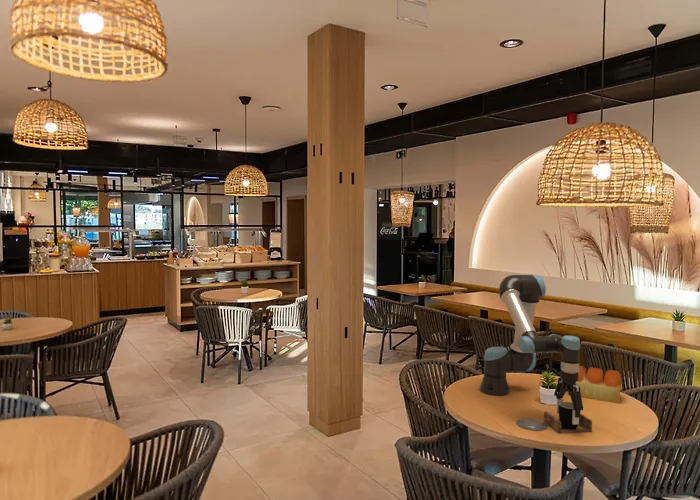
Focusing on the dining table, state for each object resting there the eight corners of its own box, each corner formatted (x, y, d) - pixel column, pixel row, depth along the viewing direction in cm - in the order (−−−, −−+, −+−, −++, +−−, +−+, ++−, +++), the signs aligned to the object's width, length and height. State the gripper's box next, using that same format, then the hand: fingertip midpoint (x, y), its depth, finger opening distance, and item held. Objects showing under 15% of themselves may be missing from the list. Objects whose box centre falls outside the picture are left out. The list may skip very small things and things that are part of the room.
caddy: (543, 422, 238) (544, 411, 237) (575, 420, 240) (575, 410, 240) (558, 433, 225) (559, 422, 225) (591, 431, 228) (592, 420, 227)
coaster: (511, 420, 240) (511, 418, 240) (537, 418, 242) (537, 417, 242) (524, 431, 227) (525, 430, 227) (552, 430, 229) (552, 428, 229)
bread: (620, 397, 274) (622, 369, 273) (620, 404, 263) (621, 375, 262) (569, 389, 286) (571, 362, 285) (567, 395, 275) (568, 368, 274)
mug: (583, 431, 227) (584, 408, 227) (564, 431, 226) (565, 409, 226) (569, 420, 239) (570, 398, 239) (550, 420, 238) (551, 399, 238)
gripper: (547, 363, 242) (545, 408, 244) (577, 379, 219) (575, 429, 220) (562, 363, 244) (560, 408, 245) (593, 379, 220) (591, 429, 221)
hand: (567, 418), depth 233 cm, fingers closed on mug, 12 cm apart
